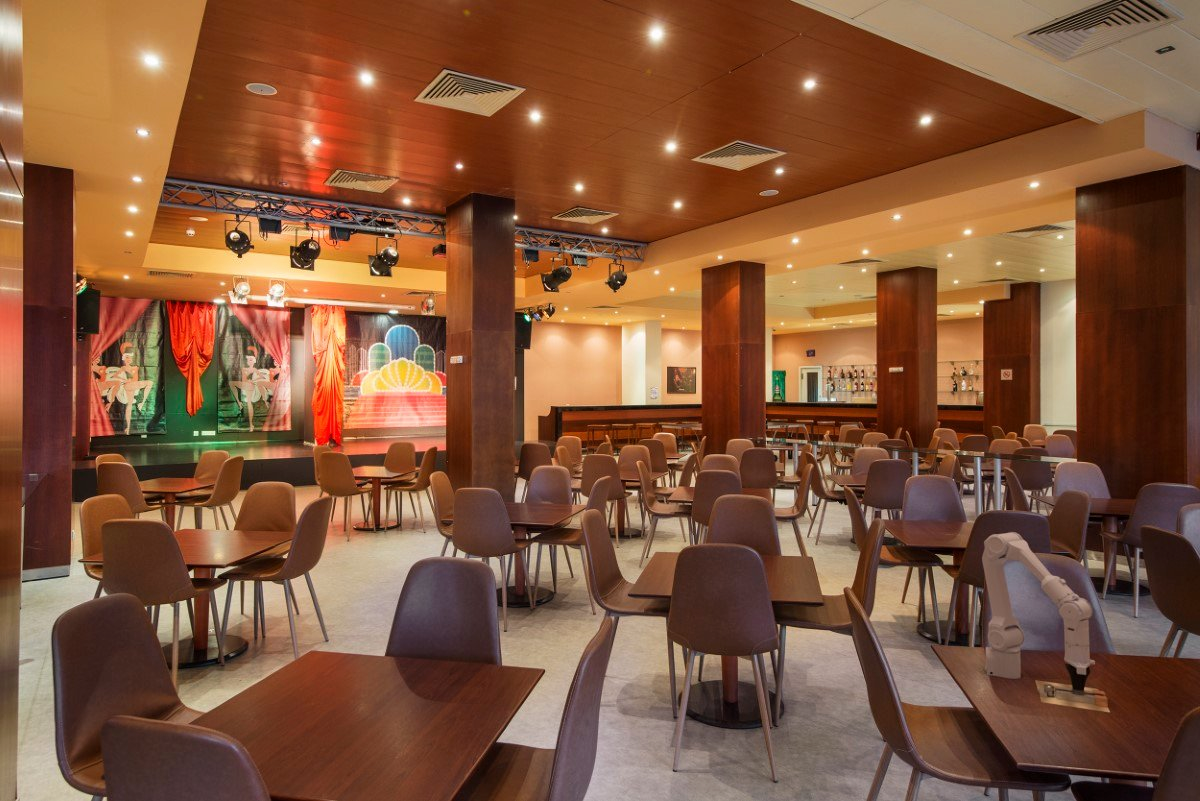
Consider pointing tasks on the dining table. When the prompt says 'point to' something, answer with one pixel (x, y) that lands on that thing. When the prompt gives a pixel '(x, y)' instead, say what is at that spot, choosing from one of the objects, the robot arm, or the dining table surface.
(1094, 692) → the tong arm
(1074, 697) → the tongs fixed
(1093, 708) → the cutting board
